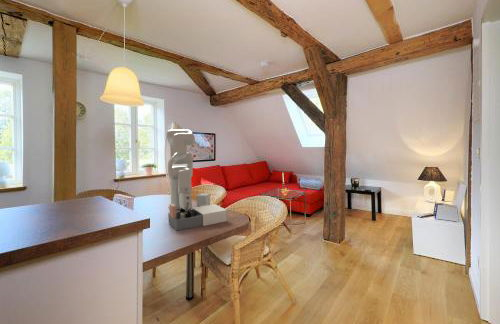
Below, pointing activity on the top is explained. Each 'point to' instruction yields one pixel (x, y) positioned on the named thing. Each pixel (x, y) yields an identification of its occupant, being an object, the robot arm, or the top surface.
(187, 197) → the robot arm
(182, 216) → the sage block
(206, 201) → the supplement box
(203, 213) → the white drawer housing
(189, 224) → the tray
